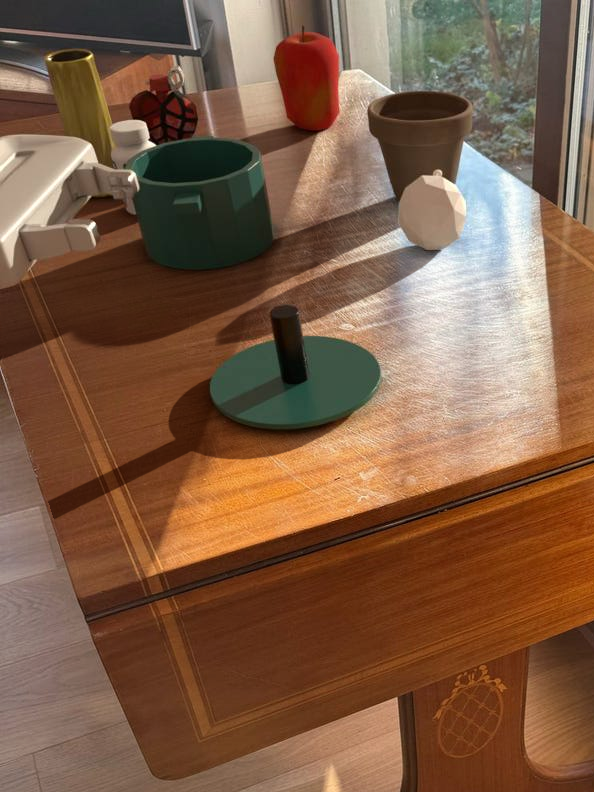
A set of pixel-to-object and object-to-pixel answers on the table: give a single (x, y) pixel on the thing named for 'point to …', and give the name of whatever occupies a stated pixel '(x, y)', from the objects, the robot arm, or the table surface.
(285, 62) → the apple
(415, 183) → the ornament
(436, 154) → the flower pot
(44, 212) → the robot arm
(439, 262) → the table surface
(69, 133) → the vase
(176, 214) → the pot
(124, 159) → the pill bottle
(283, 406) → the lid
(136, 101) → the grenade
